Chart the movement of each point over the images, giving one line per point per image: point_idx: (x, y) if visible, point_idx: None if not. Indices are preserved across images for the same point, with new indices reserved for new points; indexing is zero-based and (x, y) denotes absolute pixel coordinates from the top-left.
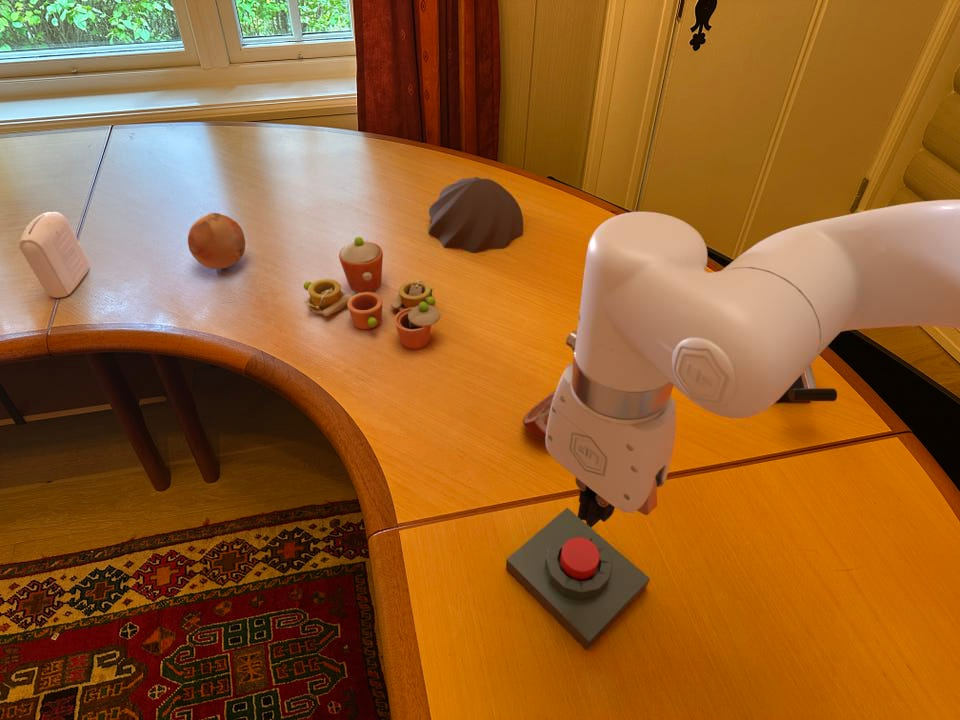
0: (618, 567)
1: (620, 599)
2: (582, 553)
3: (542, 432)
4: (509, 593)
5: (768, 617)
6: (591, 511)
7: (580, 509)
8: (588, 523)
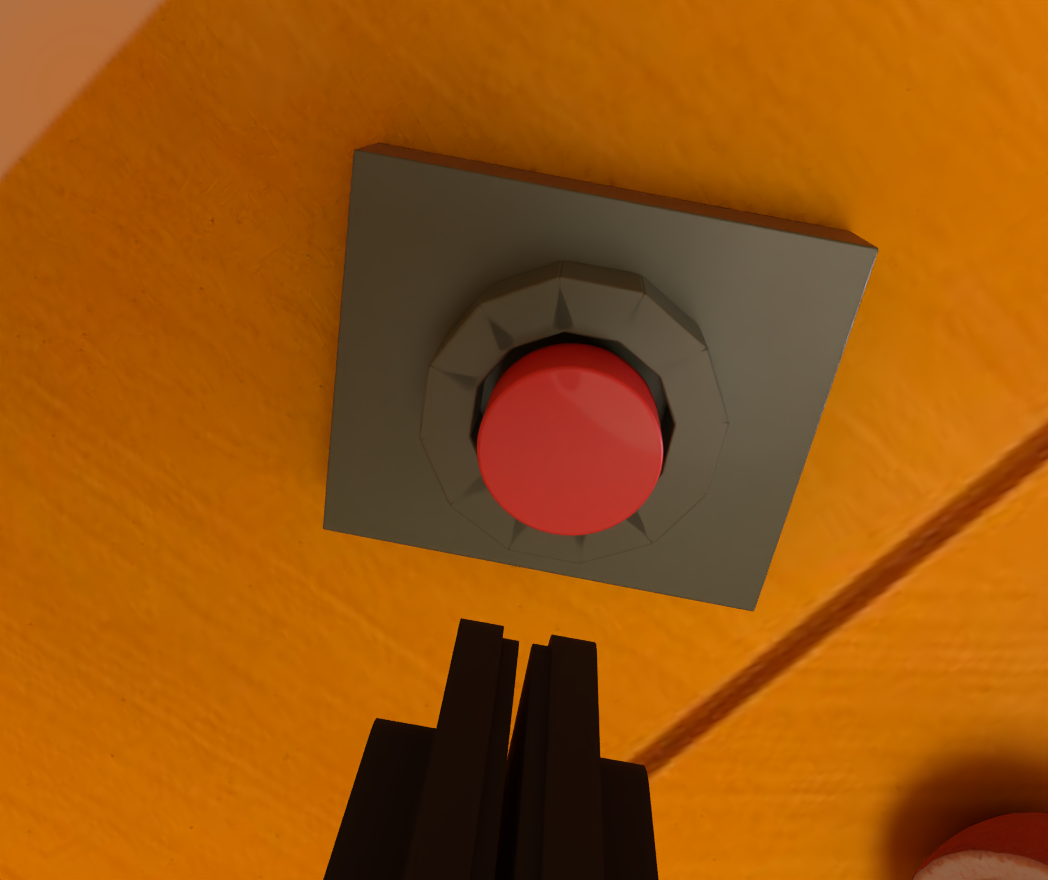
0: (440, 502)
1: (359, 391)
2: (562, 462)
3: (1032, 854)
4: (778, 144)
5: (14, 617)
6: (445, 786)
7: (580, 729)
8: (479, 642)
